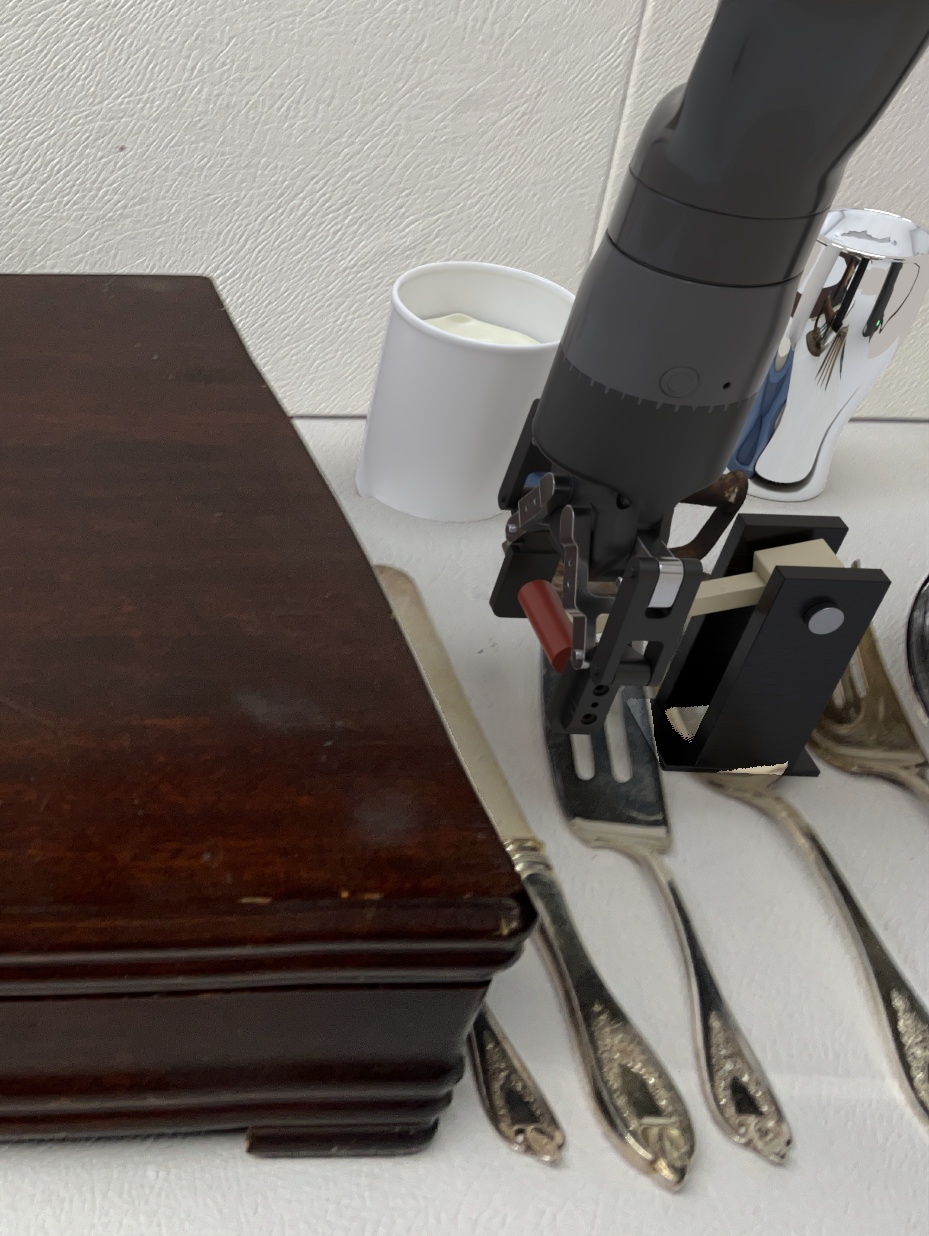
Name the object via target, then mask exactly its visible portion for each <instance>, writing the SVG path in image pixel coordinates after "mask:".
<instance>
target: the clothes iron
mask: <svg viewBox="0 0 929 1236" xmlns="http://www.w3.org/2000/svg"><path fill="white" fill-rule="evenodd" d="M748 486H749V483H748V475H747V473H746V472H744V471H743V470H734V471H730V472H729V473H727V474H722V476H721V477H720V478H719V479H718V480H717V481H715V482H714V483H713V484H711V485H710V486H708V487H706V488H704V489H702V490H700V491H698V492H696V493H694V494H692V495H690V496H689V497H687V498H685V499H684V500H682V501H681V502H680V503H679V504H687V505H694V506H695V505H696V506H702V507H709V508H715V509H714V510H713V512H712V513H711V514H710V515H709V517H708V519H707V520H706V522H705V523H704V524H703V525H702V527H701V528H700V529H699V531H698V532H697V534H696V535H695V536H694V537H693V539H691V540H690V541H689V542H688V543H686V544H684V545H679V546H673V547H668V549H669V550H670V551H671V553H672V554H673V555H674V557H675V558H689V559H699V560H700V561H702V560H703V559H704V558H705V557H706V556H707V555H708V554H709V553H710V552H711V551H712V550H713V548H714V547H715V545H716V544H717V543H718V541H720V538H721V537H722V536H723V534H724V533H725V531H726V530H727V529H728V527H729V526H730V524H731V523H732V521H733V520H734V518H736V516H737V514H738V513H739V511H740V509H741V508H742V507H743V505H744V503H745V501H746V499H747V496H748V494H747V492H748ZM509 545H511V543H509V542H508V541H507V540H504V541H503V542H502V543H501V547H502V551H503V554H504V556H505V555H506V552H507V549H508V546H509ZM710 575H711V573H708V572H706V571H703V578H702V582H703V581H708V579H709V577H710ZM563 576H564V564H563V561H562V558H561V559H560V561H559V564H558V567H557V569H556V572H555V575H554V577H553V580H552V582H551V584H552V585H553V587H554V589H555V591H556V593H557V595H558V596H559V598H560V600H561V602H562V594H563ZM588 588H589V590H590V592H591V593H592V594H594V595H596V596H611V597H616V594H617V592H618V588H617V587H616V582H615V583H607V582H588Z"/></svg>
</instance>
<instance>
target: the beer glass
mask: <svg viewBox="0 0 929 1236" xmlns="http://www.w3.org/2000/svg"><path fill="white" fill-rule="evenodd" d="M928 291H929V226H928V224H927V225H926V224H925V223H923V222H921V221H920V220H917V219H915V218H912V217H909V216H906V215H903V214H900V213H897V212H893V211H890V210H886V209H880V208H875V207H868V206H862V205H861V206H859V205H831V207H830V210H829V212H828V214H827V217H826V219H825V221H824V224H823V226H822V228H821V231H820V233H819V235H818V238H817V240H816V242H815V244H814V247H813V249H812V251H811V254H810V256H809V258H808V261H807V263H806V265H805V268H804V271H803V274H802V277H801V280H800V282H799V286H798V289H797V293H796V297H795V301H794V305H793V309H792V313H791V316H790V320H789V323H788V325H787V328H786V331H785V333H784V336H783V338H782V340H781V343H780V345H779V347H778V350H777V352H776V354H775V357H774V359H773V361H772V363H771V366H770V368H769V370H768V373H767V375H766V377H765V380H764V382H763V384H762V387H761V389H760V391H759V394H758V396H757V398H756V400H755V403H754V405H753V407H752V410H751V412H750V414H749V416H748V418H747V421H746V423H745V425H744V428H743V430H742V432H741V435H740V437H739V439H738V442H737V444H736V446H735V448H734V451H733V453H732V455H731V458H730V460H729V462H728V465H727V467H726V469H725V471H724V473H723V474H727V473H729V472H730V471H734V470H743V471H744V472H746V473H747V475H748V483H749V486H748V492H747V495H749V496H753V497H755V498H759V499H764V500H769V501H774V502H782V503H783V502H785V503H794V502H795V503H796V502H797V503H798V502H805V501H808V500H812V499H814V498H816V497H818V496H820V494H821V493H822V492H823V491H824V489H825V487H826V485H827V482H828V478H829V474H830V469H831V465H832V460H833V456H834V453H835V451H836V450H835V449H836V447H837V445H838V441H839V439H840V437H841V435H842V433H843V432H844V430H845V427H846V426H847V424H848V422H849V421H850V419H851V418H852V416H853V415H854V413H856V411H857V409H858V408H859V406H860V405H861V404H862V402H863V401H864V400H865V398H866V397H867V395H868V394H869V393H870V391H872V389H873V388H874V386H875V385H876V383H877V382H878V381H879V379H880V378H881V376H882V375H883V374H884V372H885V371H886V370H887V368H888V367H889V365H890V364H891V362H892V361H893V359H894V358H895V356H897V355H896V354H897V353H898V352H899V350H900V349H901V347H902V345H903V344H904V342H905V341H906V338H907V336H908V334H909V332H910V331H911V329H912V327H913V325H914V323H915V321H916V318H917V316H918V314H919V312H920V311H921V308H922V305H923V303H924V301H925V298H926V295H927V293H928Z"/></svg>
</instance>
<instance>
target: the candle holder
mask: <svg viewBox="0 0 929 1236" xmlns="http://www.w3.org/2000/svg"><path fill="white" fill-rule="evenodd" d="M575 297H576V295H574V294H573V293H572V292H571V291H570V290H568V289H566V288H565V287H563V286H562V285H560V284H558V283H556V282H554V281H552V280H550V279H548V278H546V277H543V276H540V275H538V274H536V273H533V272H529V271H526V270H523V269H519V268H515V267H511V266H506V265H502V264H496V263H489V262H482V261H469V260H451V261H450V260H449V261H439V262H438V261H436V262H432V263H431V262H430V263H426V264H423V265H419V266H416V267H413V268H410V269H408V270H407V271H405V272H403V273H402V274H400V275H399V276H398V278H397V279H396V280H395V281H394V283H393V285H392V288H391V291H390V303H389V308H388V312H387V318H386V323H385V328H384V332H383V336H382V341H381V347H380V352H379V355H378V356H379V357H378V361H377V366H376V370H375V375H374V379H373V383H372V384H373V385H372V389H371V393H370V399H369V404H368V408H367V413H366V418H365V423H364V427H363V432H362V437H361V442H360V447H359V452H358V457H357V462H356V468H355V474H354V475H355V476H354V482H355V488H356V490H357V493H358V495H359V496H360V497H361V498H374V499H376V500H377V501H379V502H380V503H382V504H384V505H386V506H388V507H390V508H392V509H393V510H396V511H398V512H401V513H403V514H406V515H409V516H412V517H416V518H419V519H423V520H428V521H434V522H439V523H441V522H442V523H452V524H453V523H456V524H457V523H458V524H463V523H464V524H465V523H475V522H480V521H485V520H488V519H491V518H494V517H496V516H498V515H500V514H502V513H503V512H505V510H501V509H500V508H499V506H498V493H499V490H500V487H501V485H502V482H503V479H504V477H505V474H506V471H507V469H508V466H509V463H510V461H511V458H512V455H513V453H514V450H515V448H516V445H517V442H518V440H519V437H520V434H521V432H522V429H523V426H524V424H525V421H526V419H527V416H528V413H529V411H530V408H531V405H532V403H533V401H534V400H535V399H537V398H541V395H542V392H543V389H544V386H545V384H546V381H547V378H548V375H549V372H550V369H551V366H552V363H553V360H554V357H555V355H556V352H557V349H558V346H559V343H560V340H561V337H562V335H563V332H564V329H565V326H566V323H567V321H568V318H569V315H570V312H571V309H572V306H573V303H574V300H575Z"/></svg>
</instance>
